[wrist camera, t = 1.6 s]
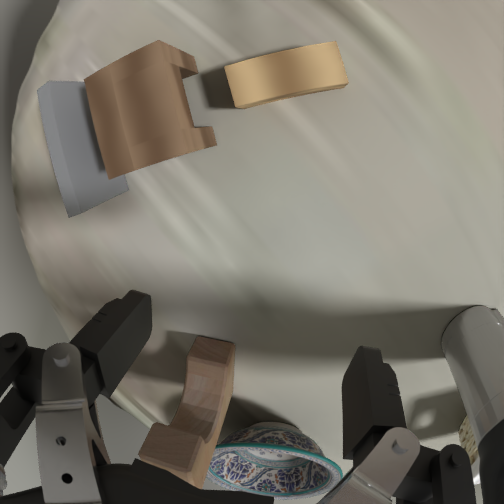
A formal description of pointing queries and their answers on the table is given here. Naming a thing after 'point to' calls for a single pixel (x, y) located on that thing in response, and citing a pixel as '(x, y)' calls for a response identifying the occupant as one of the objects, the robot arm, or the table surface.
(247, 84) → the tan wooden block
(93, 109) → the socket block
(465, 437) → the storage basket
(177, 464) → the decorative block
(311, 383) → the table surface
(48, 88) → the wall
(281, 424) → the bowl
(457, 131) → the table surface
